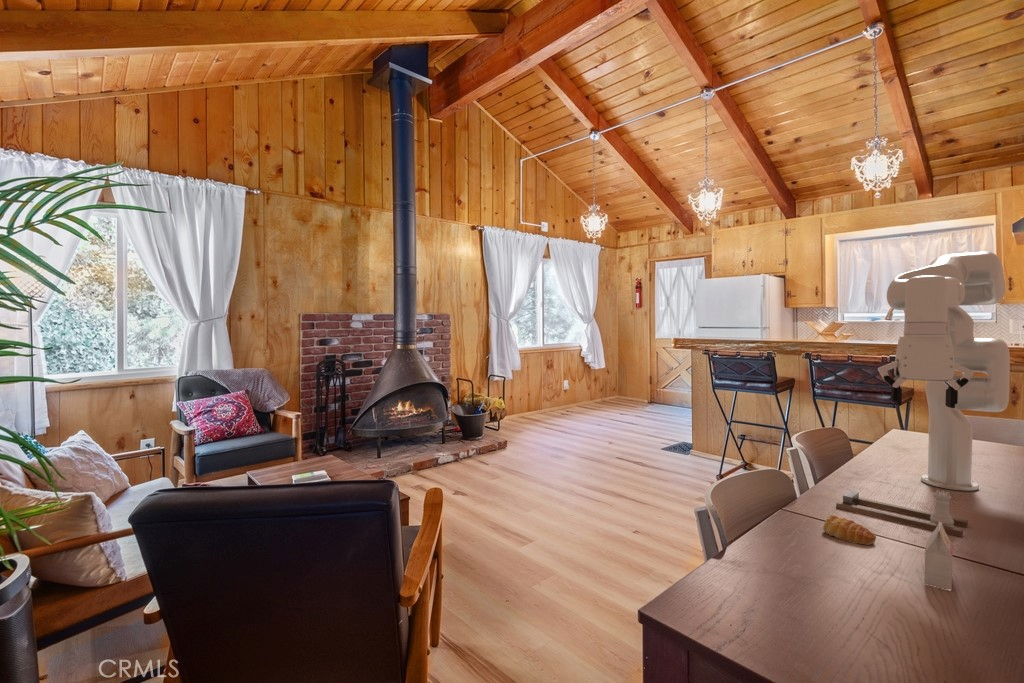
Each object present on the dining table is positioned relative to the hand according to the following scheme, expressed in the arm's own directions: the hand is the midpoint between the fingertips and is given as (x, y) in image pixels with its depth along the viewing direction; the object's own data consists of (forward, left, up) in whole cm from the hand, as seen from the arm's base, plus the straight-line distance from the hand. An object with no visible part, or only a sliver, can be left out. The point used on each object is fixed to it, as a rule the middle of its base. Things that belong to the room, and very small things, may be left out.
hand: (923, 405), depth 114 cm
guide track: (-4, -5, -28) cm, 29 cm away
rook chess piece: (-4, +3, -28) cm, 29 cm away
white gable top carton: (+28, +7, -28) cm, 40 cm away
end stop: (-4, -15, -28) cm, 32 cm away
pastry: (+17, -10, -29) cm, 35 cm away
